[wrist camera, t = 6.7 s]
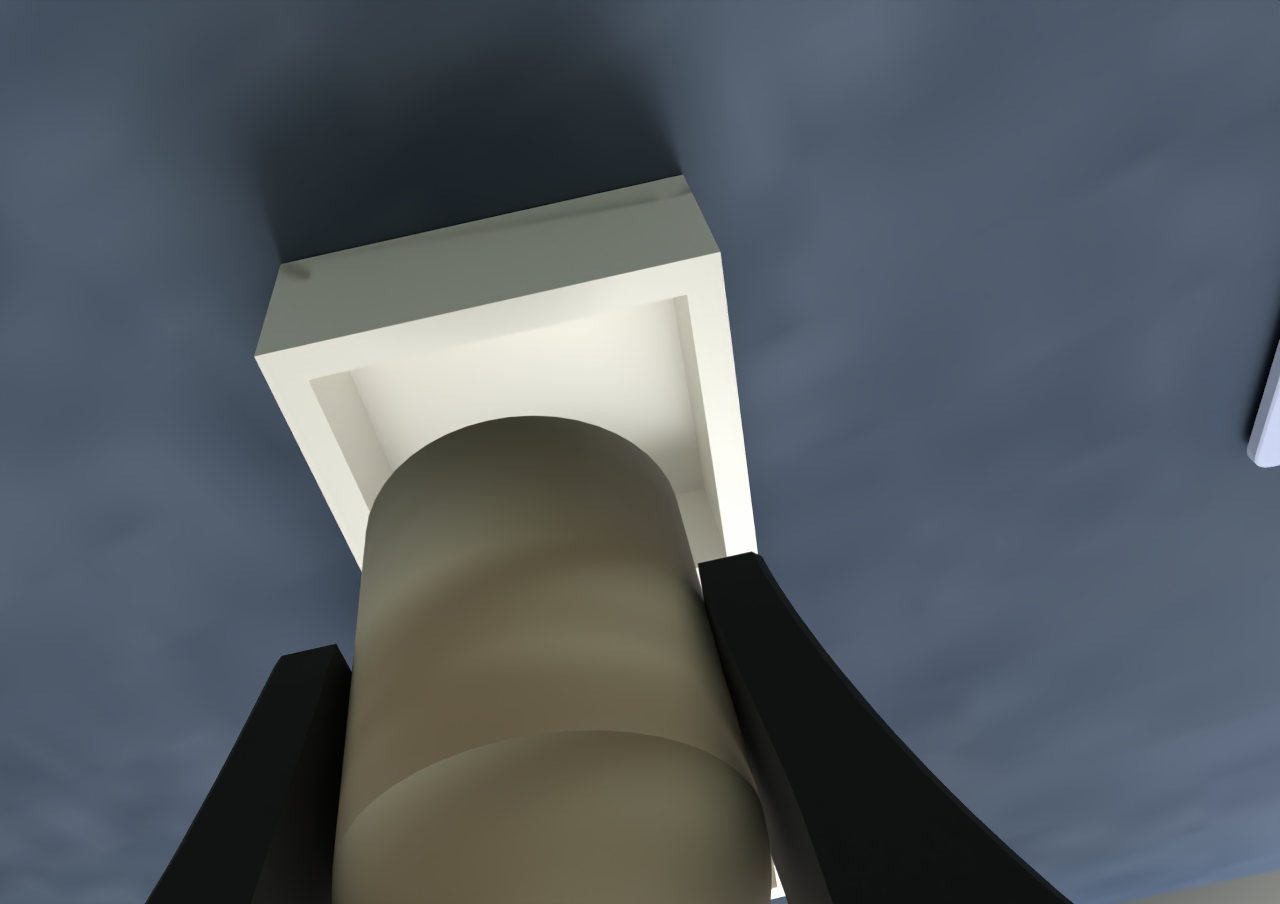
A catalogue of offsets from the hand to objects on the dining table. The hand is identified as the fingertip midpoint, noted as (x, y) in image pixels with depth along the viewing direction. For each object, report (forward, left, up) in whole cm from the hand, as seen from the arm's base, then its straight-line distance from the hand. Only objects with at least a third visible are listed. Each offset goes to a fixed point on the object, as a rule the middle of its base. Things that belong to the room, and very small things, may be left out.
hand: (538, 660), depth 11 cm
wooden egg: (0, 0, -2) cm, 2 cm away
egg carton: (0, +9, -9) cm, 13 cm away
